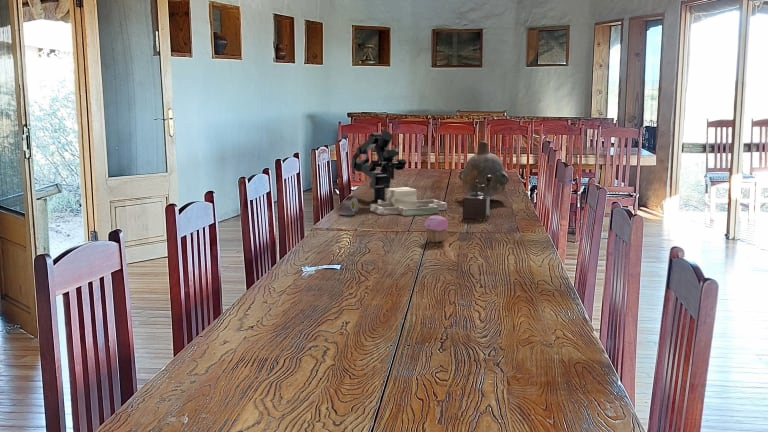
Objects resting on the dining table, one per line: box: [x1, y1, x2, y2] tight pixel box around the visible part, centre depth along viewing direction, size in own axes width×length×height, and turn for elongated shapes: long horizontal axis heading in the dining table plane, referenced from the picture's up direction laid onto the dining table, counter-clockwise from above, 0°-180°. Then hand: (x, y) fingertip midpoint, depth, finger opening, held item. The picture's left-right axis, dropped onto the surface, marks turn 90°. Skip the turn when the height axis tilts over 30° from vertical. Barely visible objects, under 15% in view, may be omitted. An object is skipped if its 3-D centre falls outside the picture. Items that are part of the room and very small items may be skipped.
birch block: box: [386, 186, 418, 209], centre depth 360 cm, size 9×11×9 cm
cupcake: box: [424, 214, 449, 243], centre depth 287 cm, size 9×9×10 cm
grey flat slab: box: [369, 199, 448, 217], centre depth 355 cm, size 28×34×3 cm
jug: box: [458, 140, 510, 198], centre depth 382 cm, size 24×21×30 cm
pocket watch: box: [339, 191, 359, 217], centre depth 340 cm, size 8×8×10 cm
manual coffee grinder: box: [462, 175, 494, 220], centre depth 339 cm, size 16×11×18 cm
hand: (392, 178), depth 366 cm, fingers closed
